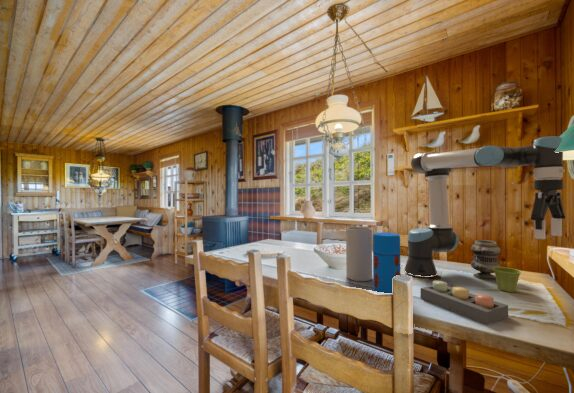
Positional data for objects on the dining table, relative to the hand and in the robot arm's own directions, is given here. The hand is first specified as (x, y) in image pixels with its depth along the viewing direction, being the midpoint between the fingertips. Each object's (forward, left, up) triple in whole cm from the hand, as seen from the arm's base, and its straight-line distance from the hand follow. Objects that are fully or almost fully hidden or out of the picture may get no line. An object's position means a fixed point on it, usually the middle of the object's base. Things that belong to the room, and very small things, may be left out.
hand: (548, 237), depth 95 cm
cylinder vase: (-57, -40, -26) cm, 74 cm away
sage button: (-22, -29, -23) cm, 43 cm away
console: (-14, -29, -26) cm, 41 cm away
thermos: (-36, -43, -26) cm, 62 cm away
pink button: (-6, -29, -23) cm, 38 cm away
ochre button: (-14, -29, -23) cm, 40 cm away
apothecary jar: (-30, +17, -26) cm, 43 cm away
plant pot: (-16, +6, -26) cm, 31 cm away
